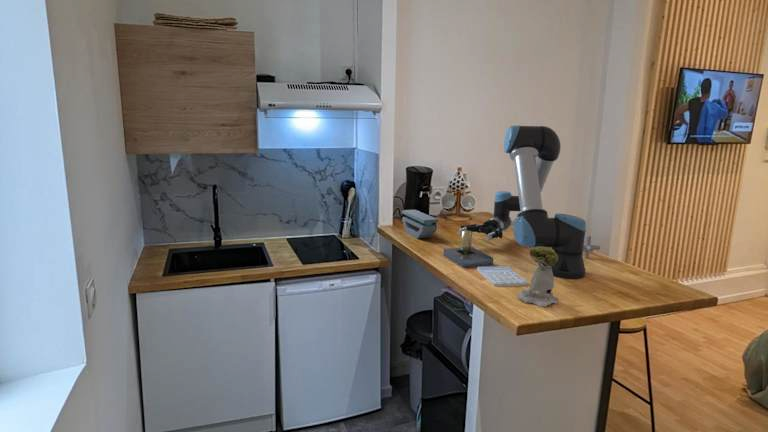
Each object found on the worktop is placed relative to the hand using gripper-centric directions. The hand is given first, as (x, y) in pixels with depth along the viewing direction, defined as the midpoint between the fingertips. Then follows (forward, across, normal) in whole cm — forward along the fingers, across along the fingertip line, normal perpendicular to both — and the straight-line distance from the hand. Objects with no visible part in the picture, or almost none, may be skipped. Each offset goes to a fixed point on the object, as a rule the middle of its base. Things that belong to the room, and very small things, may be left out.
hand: (473, 235), depth 212 cm
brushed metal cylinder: (+7, 0, -9) cm, 12 cm away
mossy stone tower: (+35, -41, -9) cm, 54 cm away
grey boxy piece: (-14, +37, -9) cm, 40 cm away
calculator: (+20, -22, -10) cm, 31 cm away
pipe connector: (-30, -41, -9) cm, 52 cm away
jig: (+8, -2, -9) cm, 13 cm away
